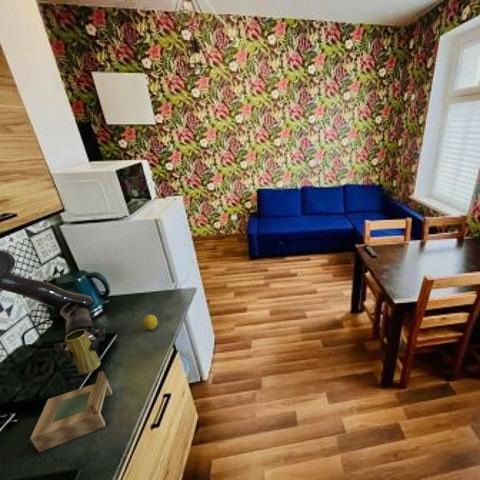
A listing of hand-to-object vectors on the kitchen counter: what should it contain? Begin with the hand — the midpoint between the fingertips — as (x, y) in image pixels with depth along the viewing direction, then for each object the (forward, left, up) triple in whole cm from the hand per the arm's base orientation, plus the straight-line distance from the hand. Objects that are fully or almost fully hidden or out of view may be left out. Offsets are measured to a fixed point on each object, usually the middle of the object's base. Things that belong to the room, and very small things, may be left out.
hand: (82, 353), depth 87 cm
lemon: (+15, +25, -16) cm, 33 cm away
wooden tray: (-3, -11, -15) cm, 19 cm away
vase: (-1, +2, -8) cm, 9 cm away
